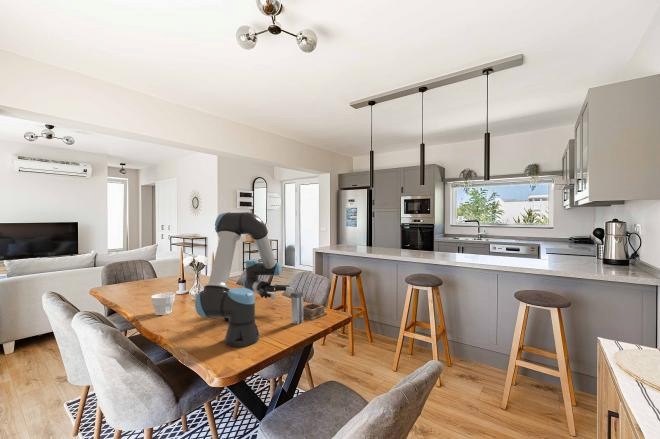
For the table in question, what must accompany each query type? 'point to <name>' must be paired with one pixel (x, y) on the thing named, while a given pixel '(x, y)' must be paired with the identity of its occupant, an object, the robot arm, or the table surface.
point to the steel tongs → (297, 307)
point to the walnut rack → (313, 311)
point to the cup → (163, 303)
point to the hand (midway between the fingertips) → (285, 293)
